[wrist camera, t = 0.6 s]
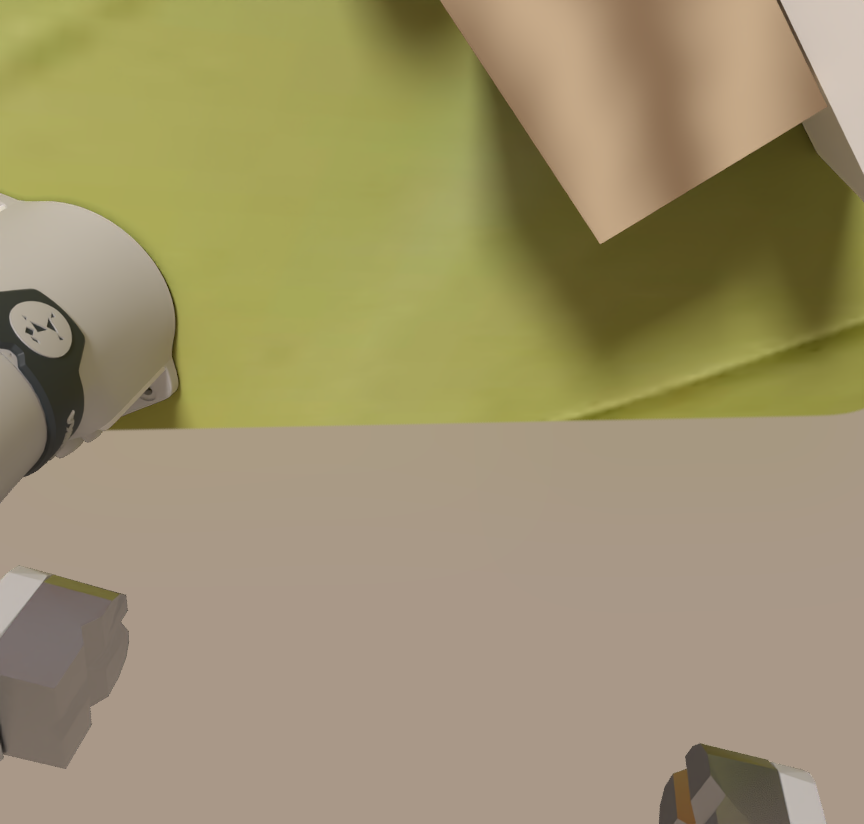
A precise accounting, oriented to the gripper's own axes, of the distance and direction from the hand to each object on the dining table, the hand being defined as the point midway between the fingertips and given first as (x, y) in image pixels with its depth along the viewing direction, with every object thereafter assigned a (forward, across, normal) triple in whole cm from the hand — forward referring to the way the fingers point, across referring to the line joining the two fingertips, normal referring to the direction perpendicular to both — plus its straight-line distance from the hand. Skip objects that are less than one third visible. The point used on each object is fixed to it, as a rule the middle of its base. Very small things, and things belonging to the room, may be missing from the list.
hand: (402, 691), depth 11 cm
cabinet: (+41, +7, +5) cm, 42 cm away
